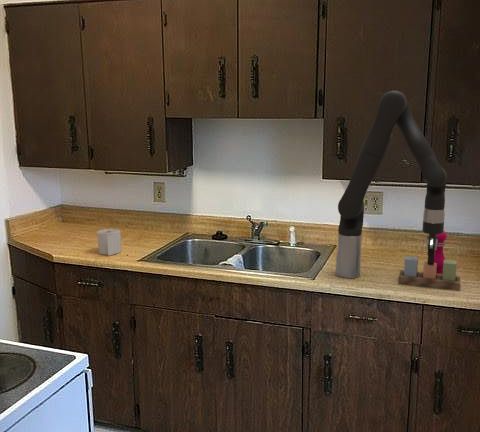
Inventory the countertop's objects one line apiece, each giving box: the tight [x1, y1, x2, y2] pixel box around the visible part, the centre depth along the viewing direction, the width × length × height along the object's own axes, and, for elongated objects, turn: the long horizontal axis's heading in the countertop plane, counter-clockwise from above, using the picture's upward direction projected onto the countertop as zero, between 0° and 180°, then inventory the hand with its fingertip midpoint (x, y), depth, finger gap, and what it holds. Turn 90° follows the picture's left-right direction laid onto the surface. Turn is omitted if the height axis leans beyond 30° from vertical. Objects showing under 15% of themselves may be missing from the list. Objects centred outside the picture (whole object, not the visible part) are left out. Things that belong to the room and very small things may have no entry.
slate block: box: [403, 256, 419, 277], centre depth 211 cm, size 5×5×7 cm
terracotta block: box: [422, 261, 437, 279], centre depth 208 cm, size 5×5×7 cm
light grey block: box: [96, 228, 122, 257], centre depth 255 cm, size 11×12×10 cm
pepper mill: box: [426, 231, 447, 274], centre depth 219 cm, size 7×7×20 cm
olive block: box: [442, 259, 458, 281], centre depth 206 cm, size 5×5×7 cm
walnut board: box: [397, 269, 461, 292], centre depth 209 cm, size 22×9×3 cm, turn 68°
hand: (430, 264), depth 208 cm, fingers closed
